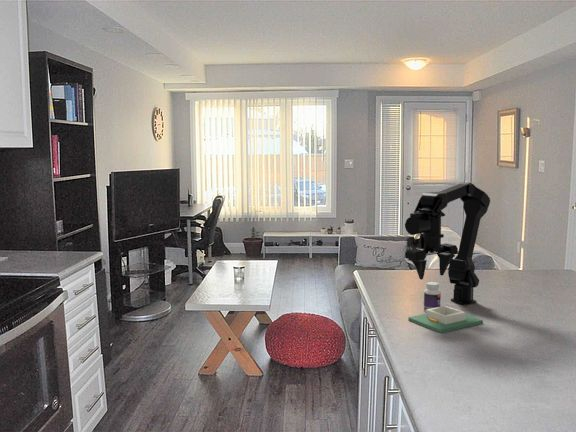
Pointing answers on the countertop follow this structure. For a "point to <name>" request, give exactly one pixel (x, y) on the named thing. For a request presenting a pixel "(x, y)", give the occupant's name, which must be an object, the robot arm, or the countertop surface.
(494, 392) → the countertop surface
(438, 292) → the pill bottle
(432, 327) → the board
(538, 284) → the countertop surface
